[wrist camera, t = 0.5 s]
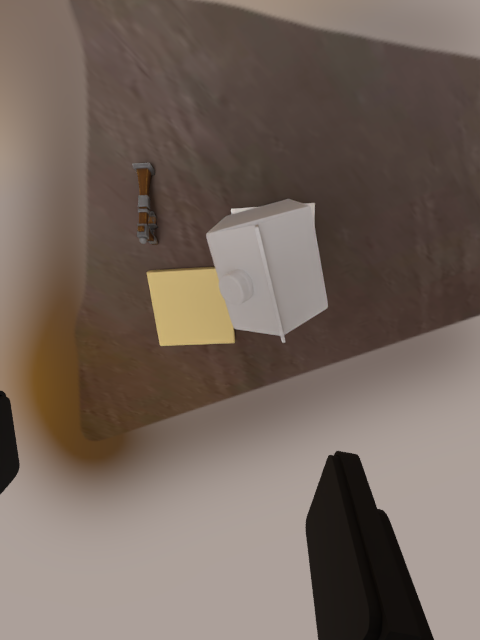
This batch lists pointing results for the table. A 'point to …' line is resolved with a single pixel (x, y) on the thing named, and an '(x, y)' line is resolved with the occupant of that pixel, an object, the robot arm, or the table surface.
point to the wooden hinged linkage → (145, 204)
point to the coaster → (189, 307)
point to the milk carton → (269, 267)
